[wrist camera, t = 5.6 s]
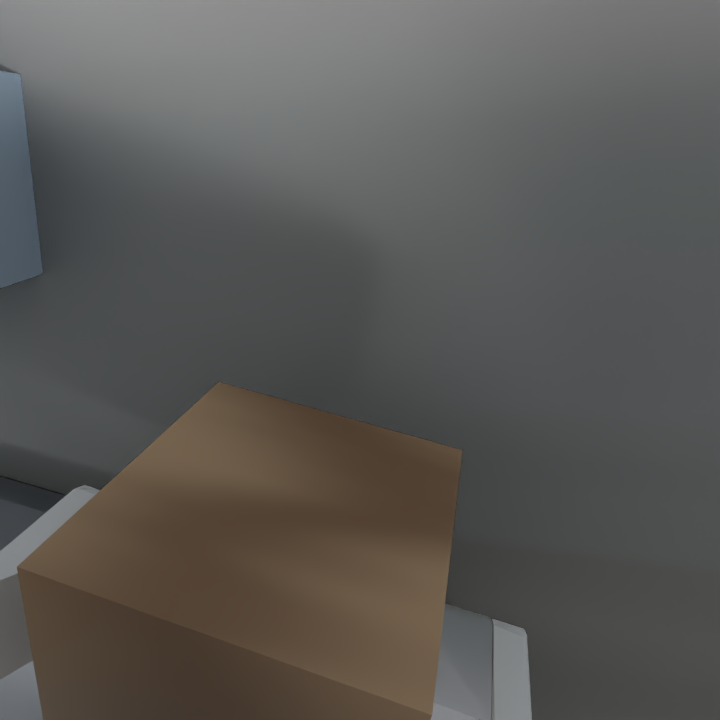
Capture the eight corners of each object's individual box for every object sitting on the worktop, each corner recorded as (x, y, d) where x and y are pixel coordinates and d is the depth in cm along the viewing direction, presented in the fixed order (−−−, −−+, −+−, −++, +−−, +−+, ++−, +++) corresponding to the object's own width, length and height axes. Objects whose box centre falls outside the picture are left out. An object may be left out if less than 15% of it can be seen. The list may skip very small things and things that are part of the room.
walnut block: (462, 450, 9) (432, 715, 5) (407, 624, 11) (354, 915, 7) (218, 382, 10) (17, 566, 6) (208, 558, 12) (55, 788, 8)
